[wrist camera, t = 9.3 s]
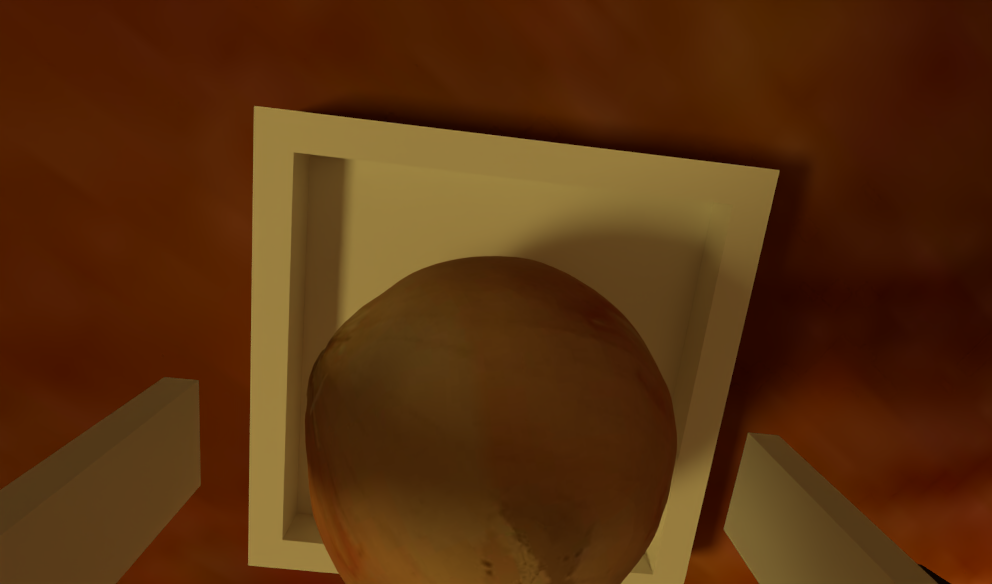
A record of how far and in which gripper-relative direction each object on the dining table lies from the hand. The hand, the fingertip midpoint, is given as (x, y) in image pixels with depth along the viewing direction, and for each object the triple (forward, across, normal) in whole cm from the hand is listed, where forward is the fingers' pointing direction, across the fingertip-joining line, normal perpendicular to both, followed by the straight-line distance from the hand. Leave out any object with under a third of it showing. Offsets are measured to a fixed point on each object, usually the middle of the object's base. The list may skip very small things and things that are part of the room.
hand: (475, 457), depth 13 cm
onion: (+7, 0, 0) cm, 7 cm away
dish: (+8, +1, 0) cm, 8 cm away
